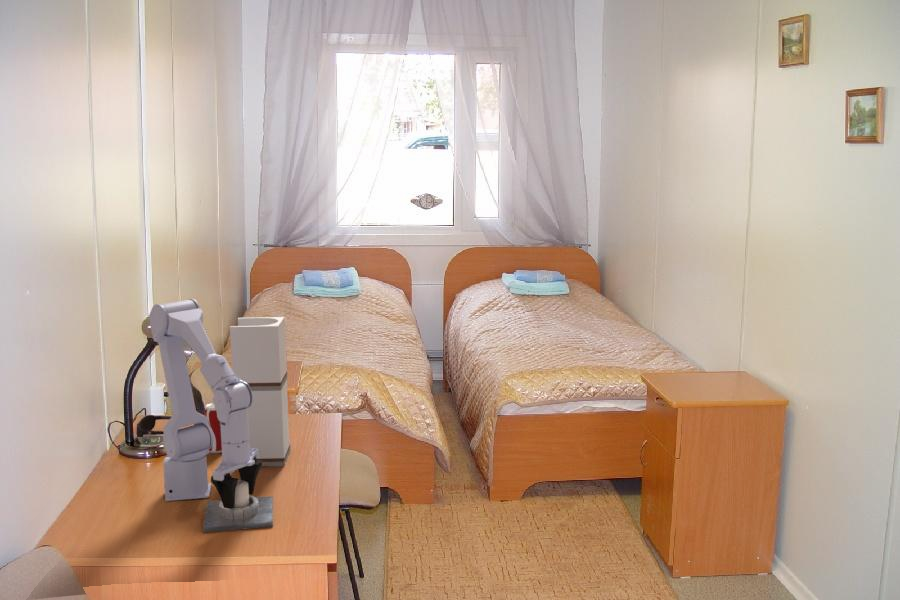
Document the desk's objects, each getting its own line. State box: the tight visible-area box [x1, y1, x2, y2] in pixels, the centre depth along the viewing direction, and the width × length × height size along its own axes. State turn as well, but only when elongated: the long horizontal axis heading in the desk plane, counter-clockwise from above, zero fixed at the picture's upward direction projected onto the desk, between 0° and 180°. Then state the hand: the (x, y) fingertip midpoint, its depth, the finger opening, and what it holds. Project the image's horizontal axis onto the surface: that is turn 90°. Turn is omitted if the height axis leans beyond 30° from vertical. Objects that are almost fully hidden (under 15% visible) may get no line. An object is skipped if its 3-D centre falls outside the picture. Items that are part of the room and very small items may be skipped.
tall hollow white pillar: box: [229, 316, 292, 468], centre depth 230 cm, size 11×11×35 cm
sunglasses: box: [135, 414, 195, 438], centre depth 251 cm, size 14×16×5 cm
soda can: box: [203, 402, 222, 454], centre depth 239 cm, size 5×5×12 cm
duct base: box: [202, 495, 274, 534], centre depth 199 cm, size 14×14×3 cm
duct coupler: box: [234, 479, 250, 508], centre depth 199 cm, size 4×4×6 cm
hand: (238, 500), depth 199 cm, fingers open, 7 cm apart
